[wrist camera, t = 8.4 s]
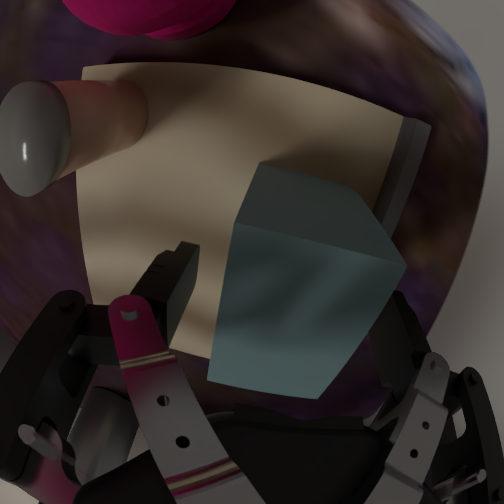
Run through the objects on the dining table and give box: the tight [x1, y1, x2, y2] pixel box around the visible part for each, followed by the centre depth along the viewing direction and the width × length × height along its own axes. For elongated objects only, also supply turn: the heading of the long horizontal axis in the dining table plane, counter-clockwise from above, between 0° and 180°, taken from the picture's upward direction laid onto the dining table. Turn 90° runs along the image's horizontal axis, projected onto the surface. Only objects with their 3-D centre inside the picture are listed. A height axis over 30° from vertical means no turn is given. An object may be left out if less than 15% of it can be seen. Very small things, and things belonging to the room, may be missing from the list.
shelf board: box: [76, 62, 432, 359], centre depth 15 cm, size 20×18×3 cm
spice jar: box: [0, 80, 149, 197], centre depth 9 cm, size 4×4×7 cm
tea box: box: [207, 162, 407, 399], centre depth 11 cm, size 5×7×7 cm
